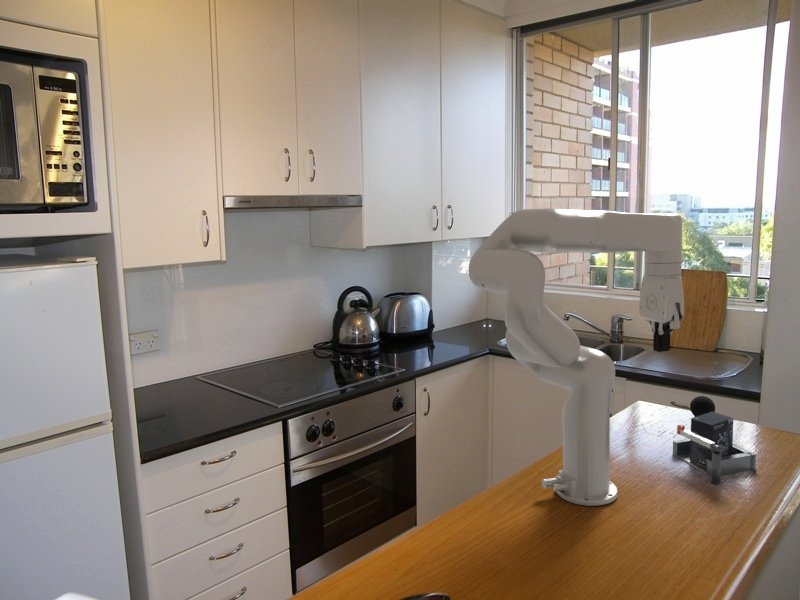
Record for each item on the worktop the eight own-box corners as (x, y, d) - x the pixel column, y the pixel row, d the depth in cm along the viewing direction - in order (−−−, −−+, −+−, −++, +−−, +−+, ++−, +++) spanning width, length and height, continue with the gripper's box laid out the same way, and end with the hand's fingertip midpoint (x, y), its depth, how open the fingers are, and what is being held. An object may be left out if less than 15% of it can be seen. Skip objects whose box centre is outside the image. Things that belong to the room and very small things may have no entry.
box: (711, 469, 139) (712, 424, 137) (688, 461, 144) (689, 417, 142) (733, 461, 143) (734, 417, 141) (710, 453, 148) (711, 410, 146)
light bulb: (718, 437, 157) (720, 399, 156) (695, 438, 158) (696, 400, 156) (707, 429, 163) (708, 392, 162) (685, 430, 163) (686, 393, 162)
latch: (673, 433, 143) (673, 425, 143) (683, 431, 144) (683, 424, 143) (716, 453, 131) (716, 445, 131) (726, 451, 132) (726, 443, 131)
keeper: (715, 484, 133) (716, 453, 132) (665, 455, 148) (666, 427, 147) (767, 475, 136) (769, 445, 135) (713, 447, 151) (714, 420, 150)
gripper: (627, 268, 143) (627, 345, 146) (669, 274, 129) (668, 360, 132) (656, 265, 145) (655, 342, 148) (701, 271, 131) (699, 356, 134)
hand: (661, 350), depth 140 cm, fingers closed
